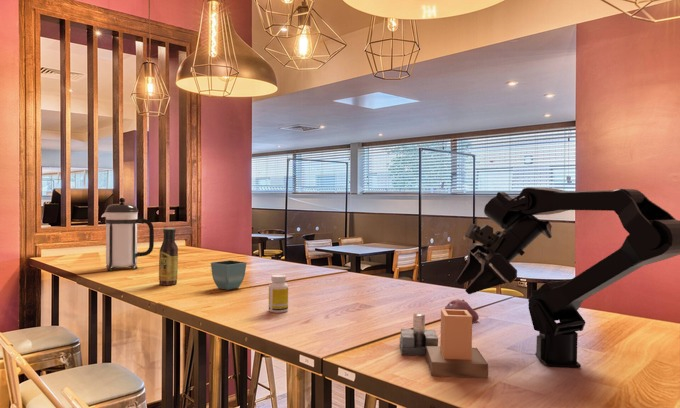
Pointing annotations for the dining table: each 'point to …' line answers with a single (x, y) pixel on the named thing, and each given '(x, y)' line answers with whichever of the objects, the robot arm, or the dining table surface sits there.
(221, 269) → the flower pot
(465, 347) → the sleeve
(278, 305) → the supplement bottle
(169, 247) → the sauce bottle
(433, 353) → the walnut block
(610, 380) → the dining table surface
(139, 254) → the coffee press
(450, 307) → the video game controller
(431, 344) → the vise
